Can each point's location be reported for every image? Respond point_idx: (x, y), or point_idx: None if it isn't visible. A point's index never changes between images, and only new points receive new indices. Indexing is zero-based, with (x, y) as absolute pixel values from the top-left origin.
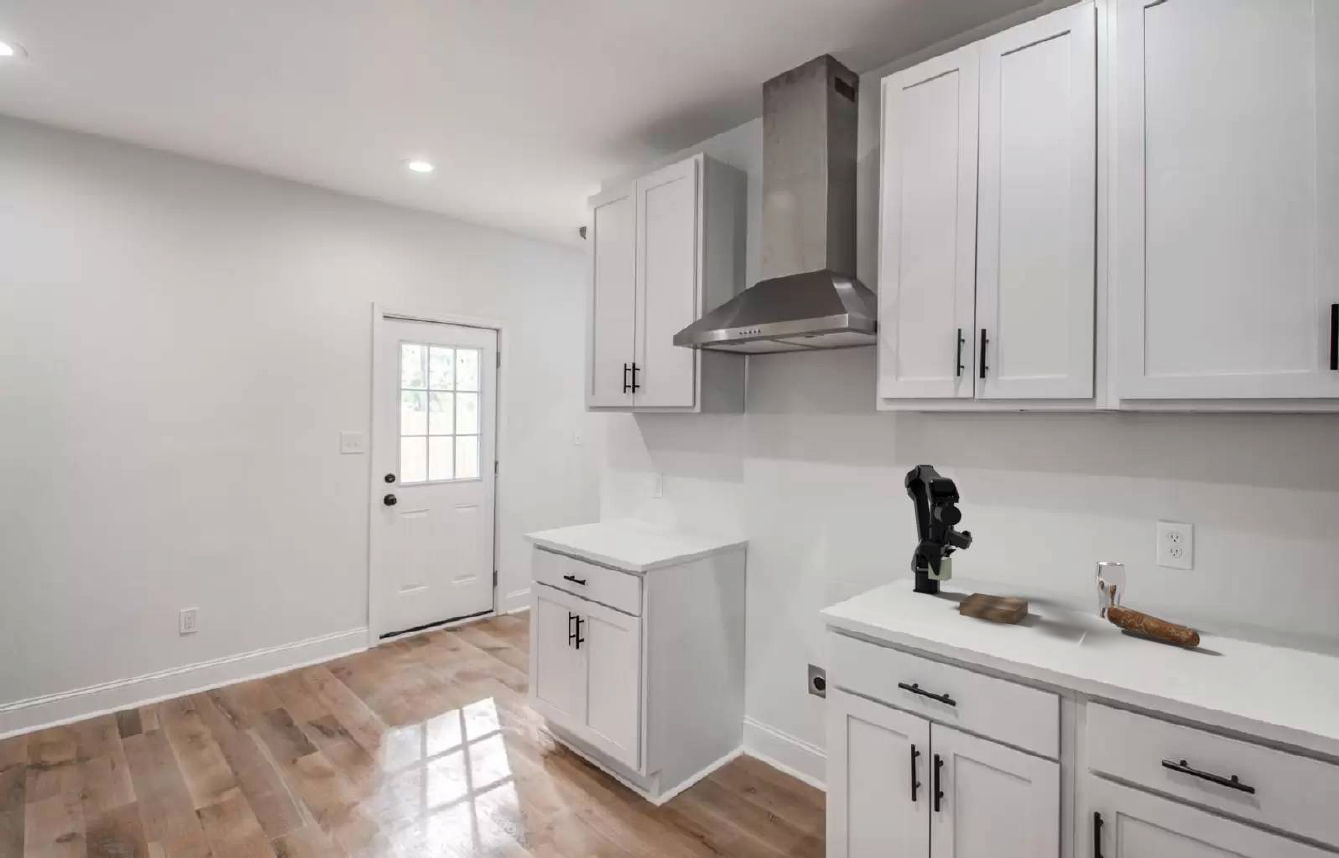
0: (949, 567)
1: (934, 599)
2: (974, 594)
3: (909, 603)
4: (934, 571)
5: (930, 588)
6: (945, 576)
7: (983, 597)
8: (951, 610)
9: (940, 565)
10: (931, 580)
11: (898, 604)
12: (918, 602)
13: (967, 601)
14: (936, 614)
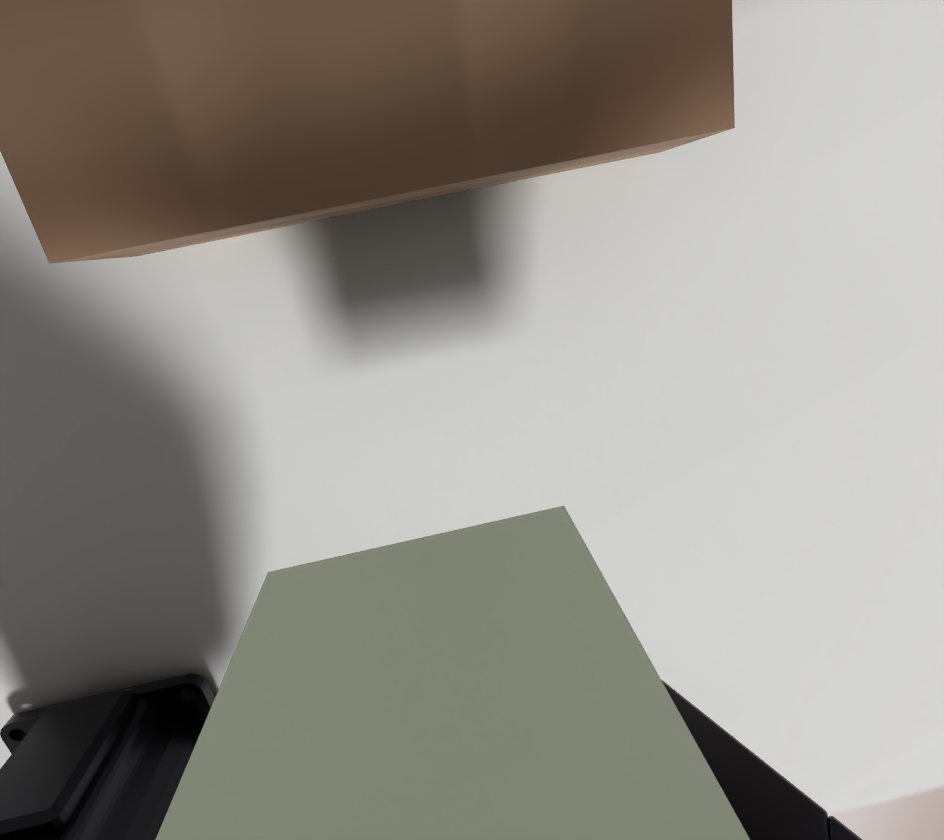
0: (373, 723)
1: None
2: (163, 205)
3: (628, 614)
4: None
5: (162, 748)
6: (589, 556)
7: (210, 7)
8: (572, 287)
9: (753, 819)
10: (109, 828)
11: (721, 636)
12: None
13: (646, 57)
14: (812, 297)
